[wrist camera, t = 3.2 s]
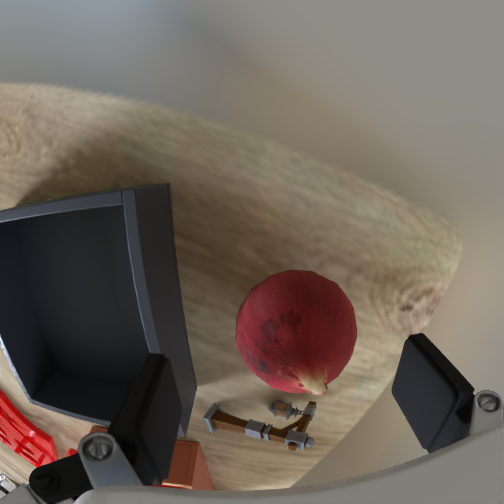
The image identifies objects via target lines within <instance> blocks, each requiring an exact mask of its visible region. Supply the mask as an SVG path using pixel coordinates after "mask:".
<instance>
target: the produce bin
mask: <svg viewBox="0 0 504 504" xmlns="http://www.w3.org/2000/svg"><path fill="white" fill-rule="evenodd" d="M107 430H108V429H105V428H101V427H97V426H93V427H92V429H91V430H90V432H89V434H90V433H93V432H106V433H107ZM162 484H163V485H169V486H176V487H182V488H186V489H193V490H215V489H214V486H213V483H212V481H211V478H210V475H209V472H208V469H207V466H206V463H205V460H204V457H203V454H202V450H201V447H200V444H199V442H188V441H177V440H176V443H175V447H174V452H173V457H172V461H171V466H170V471H169V475H168V478H167V479H163V482H162Z"/></svg>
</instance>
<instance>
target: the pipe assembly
mask: <svg viewBox="0 0 504 504" xmlns="http://www.w3.org/2000/svg"><path fill="white" fill-rule="evenodd" d="M315 409H316V402H312V401H309V404H308V405H307V407H305V410H304V411H300V410H298V409H297V407H296V409H294V408H292V405H291V402H290V403H289V404H284V403H280V402H278V401H277V402H276V404H275V405H273V404H272V405H269V407H268V410H269V411H270V412H273V414H274V417H275V416H282V417H286V420H288V419H289V417H290V416H291V415H292V416H293V414H294V416H295V417H296V415H299V414H300V415H303V417H301V418H300V419H299V420H298V421H296V422H295V423H293V424H291V425H289V426H287V427H285V428H283V429H277V428H274V427H273V426H272V425H271V424H268V426H267V425H265V423H261V422H257V421H253V420H251V419H250V420H249V421H247V420H243V419H240V418H237V417H234V416H232V415H229V414H227V413H225V412H223V411H221V409H220V406H219V405H217V404H216V403H214V404H213V406H212V407H211V408H210V409H209V411H208V412H207V413H206V415H205V416H204V417H203V420H204V422H205V425H206V427H207V429H208V431H209V432H214V431H215V430H216V429H225V430H231V431H238V432H242V433H246V434H247V436H252V437H255V438H258V439H260V440H262V438H264V440H265V441H268V442H269V440H272V441H276V442H280V443H284V444H286V446H288V450H292V451H295V450H296V448H298V449H301V450H304V448H305V446H307V447H311V446H313V445H314V444H315V440H314V439H313V438H311V437H308V433H305V431H306V429H307V426H308V424H309V422H310V421H311V420H312V418H313V416H314V412H315ZM298 411H300V412H299V414H298ZM301 412H303V414H301ZM297 426H298V427H297ZM295 427H297V429H296V431H293V430H291V429H293V428H295ZM289 430H290V431H289ZM288 431H289V432H288Z"/></svg>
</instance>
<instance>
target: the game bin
mask: <svg viewBox="0 0 504 504" xmlns="http://www.w3.org/2000/svg"><path fill="white" fill-rule="evenodd" d="M0 344H1V346H2V348H3V351H4V353H5V355H6V357H7V360H8V362H9V364H10V366H11V368H12V370H13V372H14V374H15V376H16V378H17V380H18V382H19V384H20V386H21V387H22V389H23V391H24V393H25V395H26V396H27V398H28V400H29V402H30V403H32V404H35V405H37V406H40V407H43V408H46V409H49V410H51V411H54V412H58V413H61V414H64V415H67V416H70V417H74V418H77V419H81V420H85V421H89V422H92V423H96V424H101V425H105V426H110V424H111V422H112V419H113V417H114V415H115V413H116V411H117V409H118V407H119V404H120V402H121V400H122V398H123V396H124V394H125V392H126V390H127V388H128V386H129V385H130V384H134V383H135V381H136V379H137V377H138V375H139V373H140V371H141V369H142V367H143V364H144V362H145V360H146V358H147V356H148V354H149V353H159V354H164V355H165V357H167V358H170V361H171V365H172V369H173V374H174V378H175V382H176V385H177V389H178V393H179V397H180V400H181V404H182V416H181V421H180V425H179V429H178V434H177V437H180V438H185V437H186V433H187V429H188V424H189V420H190V416H191V411H192V407H193V403H194V398H195V394H196V390H197V384H196V380H195V375H194V369H193V364H192V359H191V354H190V348H189V342H188V337H187V331H186V324H185V318H184V312H183V305H182V298H181V291H180V283H179V276H178V268H177V259H176V250H175V241H174V231H173V220H172V208H171V195H170V183H164V184H154V185H145V186H136V187H128V188H120V189H113V190H105V191H98V192H92V193H85V194H79V195H73V196H67V197H61V198H56V199H51V200H45V201H40V202H35V203H30V204H26V205H21V206H16V207H12V208H8V209H4V210H0Z"/></svg>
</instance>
